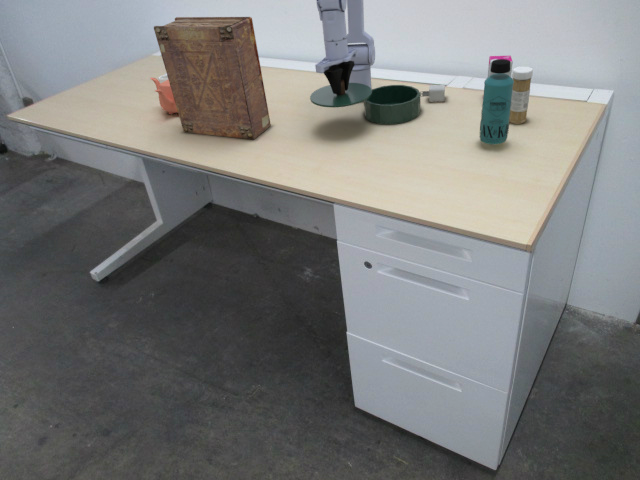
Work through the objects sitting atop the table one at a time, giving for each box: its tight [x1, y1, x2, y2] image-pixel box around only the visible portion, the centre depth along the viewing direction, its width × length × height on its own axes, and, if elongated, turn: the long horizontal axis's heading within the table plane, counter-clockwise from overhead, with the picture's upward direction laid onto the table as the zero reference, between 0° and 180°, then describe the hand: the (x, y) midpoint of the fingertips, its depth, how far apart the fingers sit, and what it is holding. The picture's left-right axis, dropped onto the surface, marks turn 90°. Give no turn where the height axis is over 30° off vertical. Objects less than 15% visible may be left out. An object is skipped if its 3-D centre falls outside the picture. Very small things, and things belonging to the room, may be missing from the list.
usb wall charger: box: [419, 84, 446, 103], centre depth 149 cm, size 4×7×4 cm, turn 79°
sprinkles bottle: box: [509, 66, 534, 125], centre depth 128 cm, size 5×5×14 cm
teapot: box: [149, 77, 178, 115], centre depth 164 cm, size 14×14×11 cm
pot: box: [363, 84, 421, 125], centre depth 144 cm, size 15×15×5 cm
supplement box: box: [486, 55, 514, 79], centre depth 141 cm, size 6×6×12 cm
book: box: [153, 16, 272, 140], centre depth 141 cm, size 25×9×30 cm, turn 64°
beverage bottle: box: [479, 59, 514, 145], centre depth 117 cm, size 6×7×20 cm
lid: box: [309, 79, 373, 108], centre depth 134 cm, size 16×16×4 cm
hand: (340, 91), depth 135 cm, fingers closed on lid, 2 cm apart
